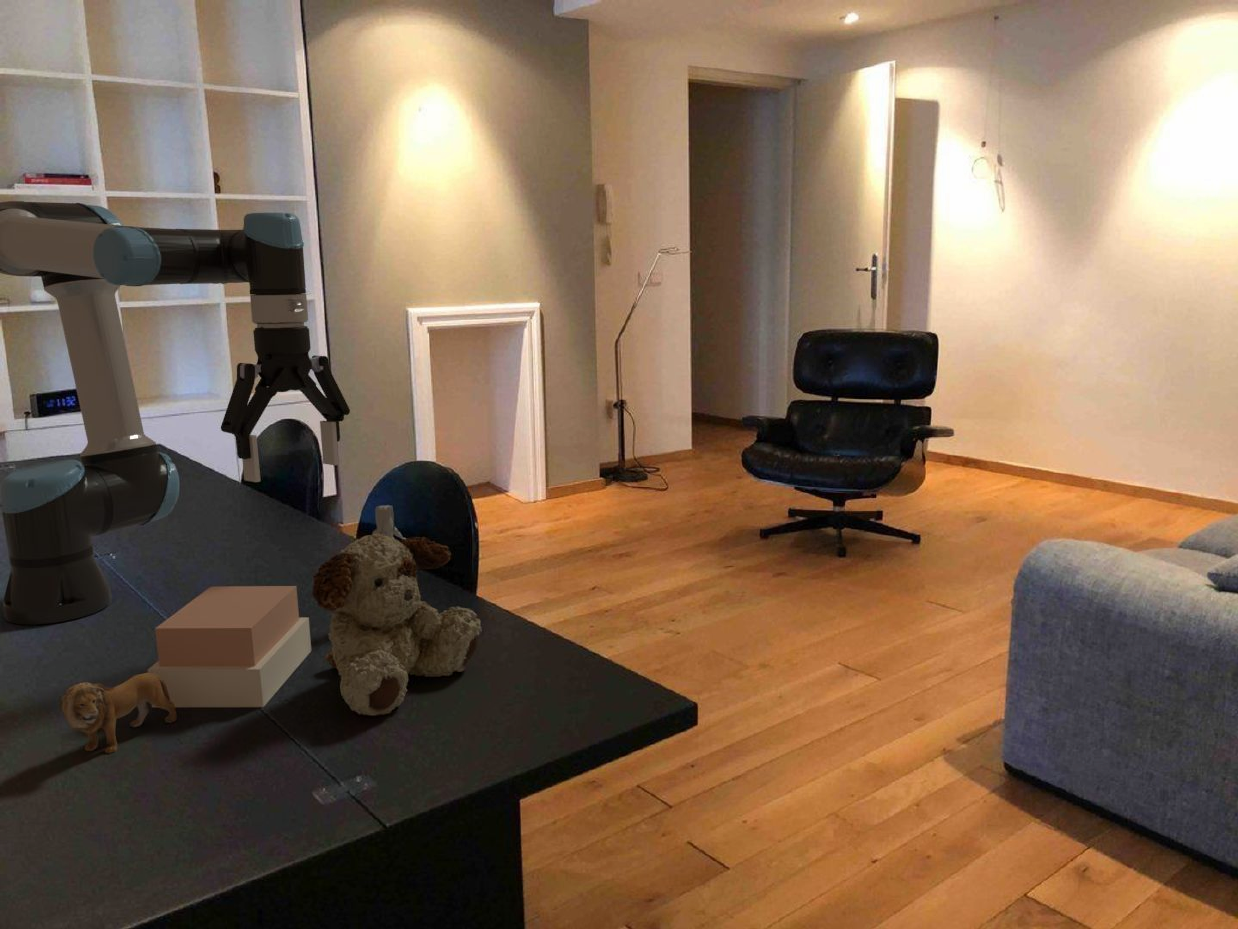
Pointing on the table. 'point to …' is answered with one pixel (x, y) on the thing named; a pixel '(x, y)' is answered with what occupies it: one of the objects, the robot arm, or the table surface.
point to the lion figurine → (114, 706)
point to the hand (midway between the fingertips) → (293, 472)
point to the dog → (389, 620)
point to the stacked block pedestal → (232, 646)
